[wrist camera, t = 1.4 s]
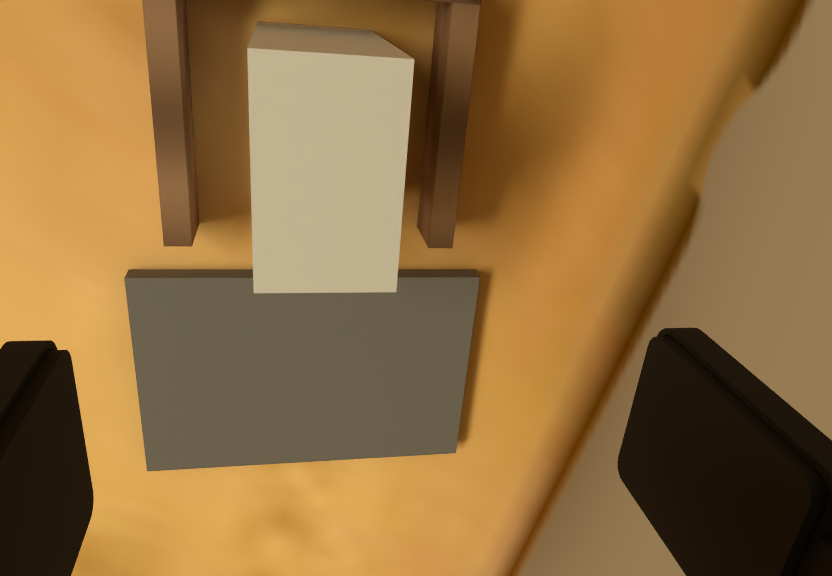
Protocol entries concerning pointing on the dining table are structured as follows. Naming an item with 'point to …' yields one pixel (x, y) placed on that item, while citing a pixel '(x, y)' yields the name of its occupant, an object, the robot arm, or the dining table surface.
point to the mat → (297, 368)
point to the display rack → (441, 136)
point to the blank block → (326, 158)
